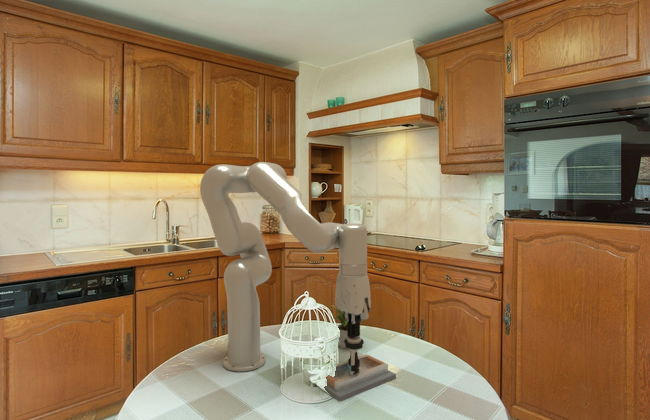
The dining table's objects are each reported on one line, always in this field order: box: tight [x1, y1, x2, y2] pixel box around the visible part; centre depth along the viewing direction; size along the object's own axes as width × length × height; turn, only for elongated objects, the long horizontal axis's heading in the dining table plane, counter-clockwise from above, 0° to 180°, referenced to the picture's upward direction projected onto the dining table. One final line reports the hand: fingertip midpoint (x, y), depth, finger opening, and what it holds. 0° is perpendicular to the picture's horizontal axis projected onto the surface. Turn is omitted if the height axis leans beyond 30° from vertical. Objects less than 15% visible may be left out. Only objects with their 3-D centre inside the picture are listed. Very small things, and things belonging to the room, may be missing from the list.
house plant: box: [331, 304, 366, 350], centre depth 131 cm, size 14×14×16 cm
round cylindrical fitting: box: [344, 336, 365, 376], centre depth 108 cm, size 7×5×10 cm
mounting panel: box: [324, 369, 397, 402], centre depth 108 cm, size 13×20×1 cm, turn 127°
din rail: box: [326, 353, 389, 392], centre depth 108 cm, size 9×18×2 cm, turn 127°
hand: (353, 336), depth 108 cm, fingers closed
